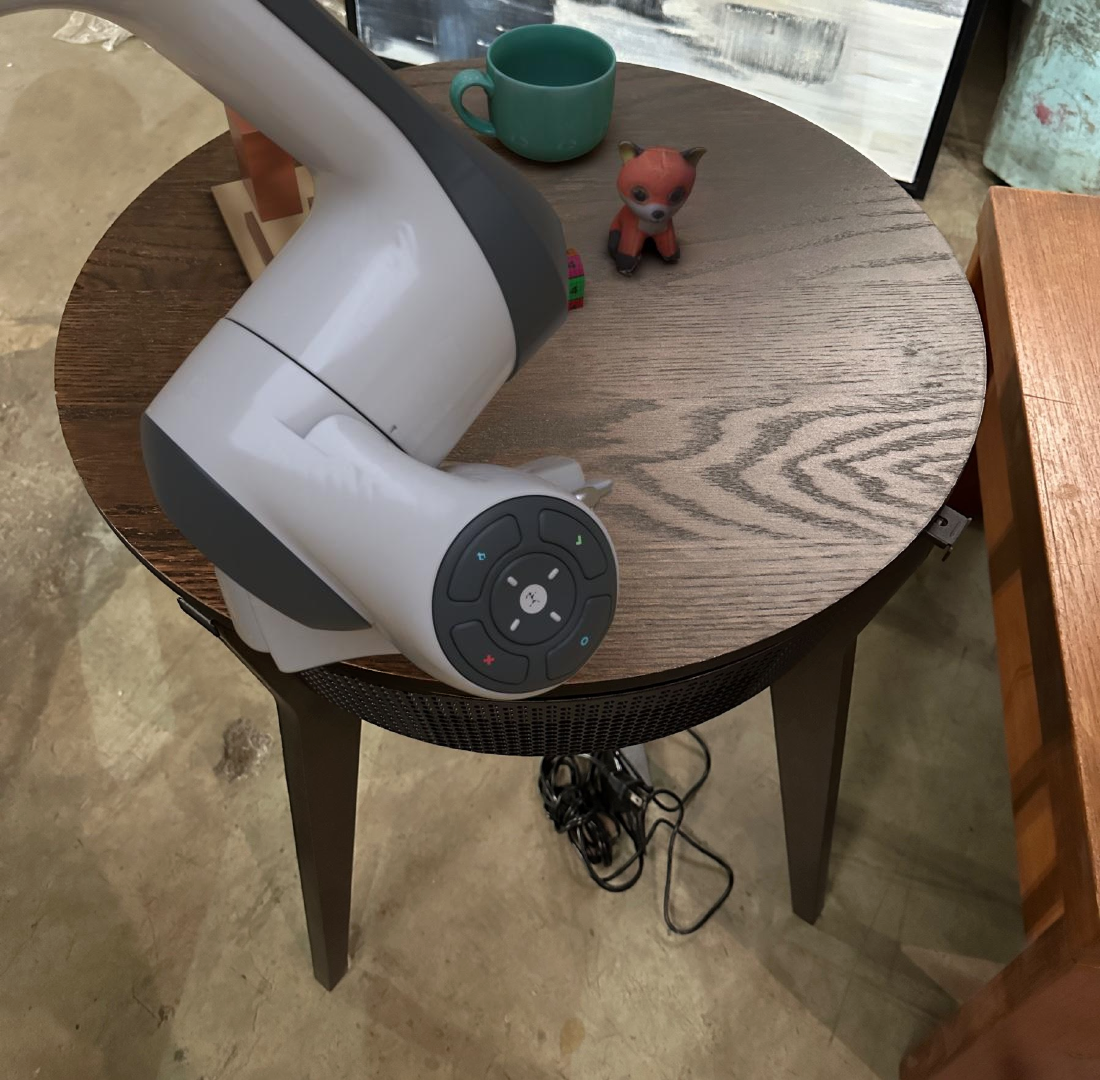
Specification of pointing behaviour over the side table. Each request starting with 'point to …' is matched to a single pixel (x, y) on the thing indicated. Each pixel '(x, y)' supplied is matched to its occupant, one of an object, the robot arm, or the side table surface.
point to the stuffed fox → (650, 200)
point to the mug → (543, 91)
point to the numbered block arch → (575, 280)
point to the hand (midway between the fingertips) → (387, 530)
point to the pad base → (270, 230)
